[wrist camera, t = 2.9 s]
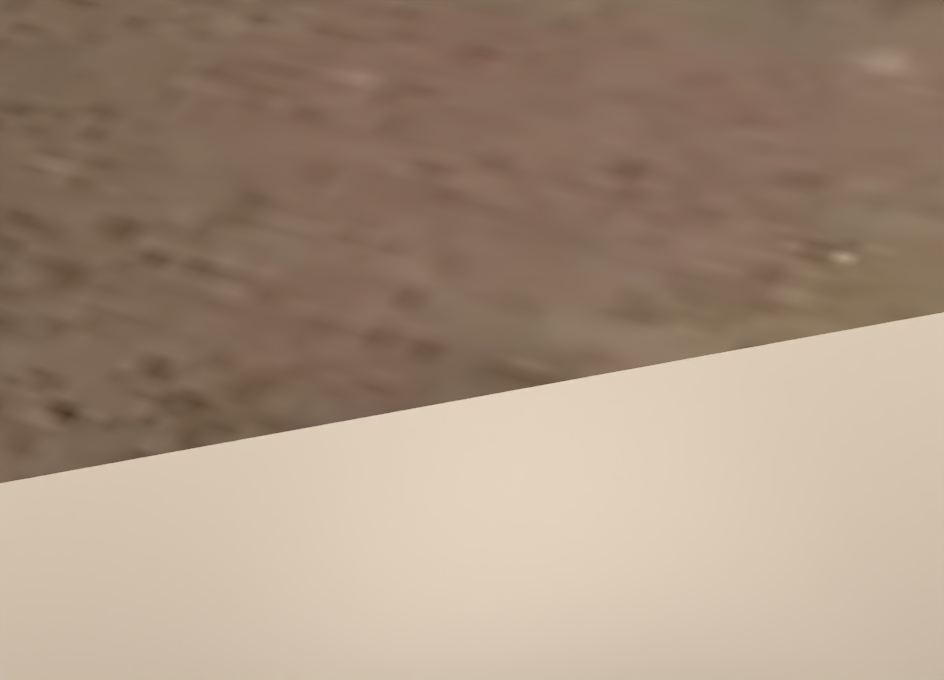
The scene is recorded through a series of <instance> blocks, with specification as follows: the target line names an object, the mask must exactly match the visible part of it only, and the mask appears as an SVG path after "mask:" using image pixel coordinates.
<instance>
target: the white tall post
mask: <svg viewBox="0 0 944 680" xmlns="http://www.w3.org/2000/svg"><path fill="white" fill-rule="evenodd" d="M0 680H944V313H938V314H933V315H927V316H922V317H916V318H911V319H905V320H900V321H894V322H889V323H883V324H878V325H872V326H867V327H861V328H856V329H850V330H845V331H839V332H833V333H828V334H822V335H817V336H811V337H806V338H800V339H795V340H789V341H784V342H778V343H773V344H767V345H762V346H756V347H751V348H745V349H740V350H734V351H729V352H723V353H718V354H712V355H707V356H701V357H696V358H690V359H685V360H679V361H673V362H668V363H662V364H657V365H651V366H646V367H640V368H635V369H629V370H624V371H618V372H613V373H607V374H602V375H596V376H591V377H585V378H580V379H574V380H569V381H563V382H558V383H552V384H547V385H541V386H536V387H530V388H524V389H519V390H513V391H508V392H502V393H497V394H491V395H486V396H480V397H475V398H469V399H464V400H458V401H453V402H447V403H442V404H436V405H431V406H425V407H420V408H414V409H409V410H403V411H398V412H392V413H387V414H381V415H376V416H370V417H364V418H359V419H353V420H348V421H342V422H337V423H331V424H326V425H320V426H315V427H309V428H304V429H298V430H293V431H287V432H282V433H276V434H271V435H265V436H260V437H254V438H249V439H243V440H238V441H232V442H227V443H221V444H215V445H210V446H204V447H199V448H193V449H188V450H182V451H177V452H171V453H166V454H160V455H155V456H149V457H144V458H138V459H133V460H127V461H122V462H116V463H111V464H105V465H100V466H94V467H89V468H83V469H78V470H72V471H67V472H61V473H55V474H50V475H44V476H39V477H33V478H28V479H22V480H17V481H11V482H6V483H0Z"/></svg>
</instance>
